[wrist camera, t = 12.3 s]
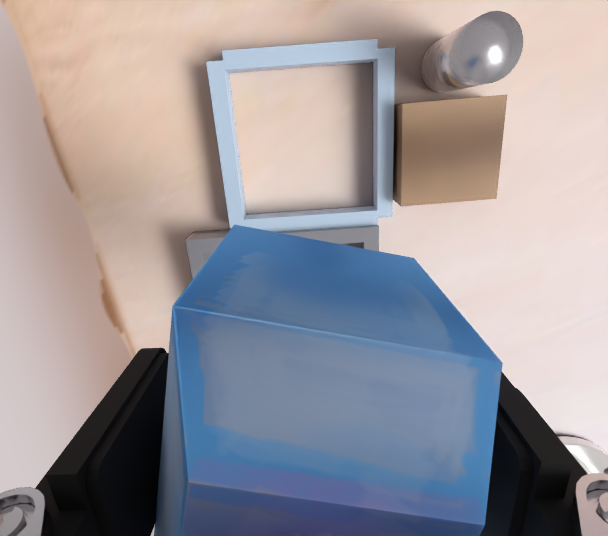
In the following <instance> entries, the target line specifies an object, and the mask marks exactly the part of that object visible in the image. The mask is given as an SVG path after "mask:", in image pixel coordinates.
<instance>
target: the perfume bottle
mask: <svg viewBox="0 0 608 536" xmlns="http://www.w3.org/2000/svg"><path fill="white" fill-rule="evenodd" d="M501 371H502V362H501V361H500V359H499V358H498V357H497V356H496V355H495V354H494V352H493V351H492V350H491V349H490V348H489V346H488V345H487V344H486V343H485V342H484V341H483V339H482V338H481V337H480V336H479V335H478V333H477V332H476V331H475V330H474V329H473V328H472V326H471V325H470V324H469V323H468V322H467V320H466V319H465V318H464V317H463V316H462V315H461V313H460V312H459V311H458V310H457V309H456V307H455V306H454V305H453V304H452V303H451V302H450V300H449V299H448V298H447V297H446V296H445V294H444V293H443V292H442V291H441V290H440V289H439V287H438V286H437V285H436V284H435V283H434V281H433V280H432V279H431V278H430V277H429V276H428V274H427V273H426V272H425V271H424V270H423V268H422V267H421V266H420V265H419V264H418V263H417V261H416V260H415V259H414V258H410V257H405V256H400V255H394V254H389V253H384V252H378V251H373V250H368V249H363V248H357V247H352V246H347V245H341V244H336V243H331V242H325V241H320V240H315V239H309V238H304V237H299V236H293V235H288V234H283V233H277V232H272V231H267V230H261V229H256V228H251V227H245V226H240V225H235V224H234V226H233V227H232V228H231V230H230V231H229V232H228V234H227V235H226V236H225V238H224V239H223V240H222V241H221V243H220V244H219V245H218V247H217V248H216V249H215V251H214V252H213V253H212V255H211V256H210V257H209V259H208V260H207V261H206V263H205V264H204V265H203V267H202V268H201V269H200V271H199V272H198V273H197V274H196V276H195V277H194V278H193V280H192V281H191V282H190V284H189V285H188V286H187V288H186V289H185V290H184V292H183V293H182V294H181V296H180V297H179V298H178V300H177V301H176V302H175V304H174V305H173V308H172V321H171V333H170V345H169V358H168V370H167V383H166V395H165V407H164V420H163V432H162V444H161V457H160V469H159V481H158V494H157V506H156V522H155V532H154V536H479V535H480V533H481V532H482V530H483V528H484V526H485V519H486V509H487V500H488V491H489V482H490V472H491V463H492V454H493V445H494V435H495V426H496V417H497V408H498V398H499V389H500V380H501Z"/></svg>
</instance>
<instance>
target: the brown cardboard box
mask: <svg viewBox="0 0 608 536" xmlns="http://www.w3.org/2000/svg"><path fill="white" fill-rule="evenodd" d="M506 101H507V95H497V96H486V97H474V98H463V99H451V100H440V101H428V102H417V103H405V104H399V105H394V145H393V200H394V201H396V202H397V203H398V204H399V205H400V206H410V205H423V204H435V203H448V202H460V201H473V200H485V199H496V198H497V188H498V178H499V169H500V159H501V149H502V140H503V130H504V120H505V111H506Z"/></svg>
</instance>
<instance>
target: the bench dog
mask: <svg viewBox="0 0 608 536" xmlns="http://www.w3.org/2000/svg"><path fill="white" fill-rule="evenodd" d="M522 47H523V35H522V30H521V27H520V25H519V23H518V22H517V21H516V19H515V18H514V17H512V16H511V15H510V14H508V13H505V12H501V11H492V12H488V13H485V14H483V15H481V16H479V17H477V18H476V19H474V20H472V21H471V22H469V23H467V24H466V25H464V26H462V27H460V28H459V29H457V30H455V31H454V32H452V33H450V34H449V35H447V36H445V37H443V38H442V39H440V40H438V41H437V42H435V43H434V44H432V45H431V46H430V47H429V49H428V50H427V51H426V53H425V55H424V57H423V60H422V66H421V72H422V77H423V80H424V82H425V83H426V85H427V86H428V87H429V88H431V89H432V90H434V91H437V92H448V91H453V90H458V89H463V88H468V87H473V86H478V85H483V84H488V83H492V82H496V81H498V80H500V79H502V78H504V77H505V76H506V75H507V74H508V73H510V72H511V70H512V69H513V68H514V67H515V65H516V64H517V62H518V60H519V58H520V55H521V52H522Z"/></svg>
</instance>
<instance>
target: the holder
mask: <svg viewBox="0 0 608 536" xmlns="http://www.w3.org/2000/svg"><path fill="white" fill-rule="evenodd" d="M222 56H223V60H221V61H208V62H206V65H207V72H208V79H209V86H210V93H211V100H212V107H213V114H214V121H215V128H216V135H217V142H218V148H219V155H220V162H221V169H222V176H223V183H224V190H225V197H226V204H227V211H228V218H229V225H230V228H232V227H233V226H234V224H235V225H240V226H245V227H251V228H256V229H261V230H267V231H272V232H282V231H296V230H311V229H326V228H340V227H355V226H369V225H377V218H381V217H392V203H393V145H394V87H395V47H392V48H379V49H378V39H367V40H354V41H341V42H327V43H314V44H301V45H288V46H275V47H262V48H249V49H236V50H222ZM369 62H373V206H363V207H349V208H334V209H320V210H305V211H291V212H277V213H262V214H248V215H247V214H246V206H245V198H244V190H243V182H242V174H241V166H240V158H239V150H238V142H237V134H236V126H235V118H234V110H233V102H232V94H231V86H230V78H229V73H236V72H249V71H263V70H276V69H289V68H302V67H316V66H329V65H342V64H356V63H369Z"/></svg>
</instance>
